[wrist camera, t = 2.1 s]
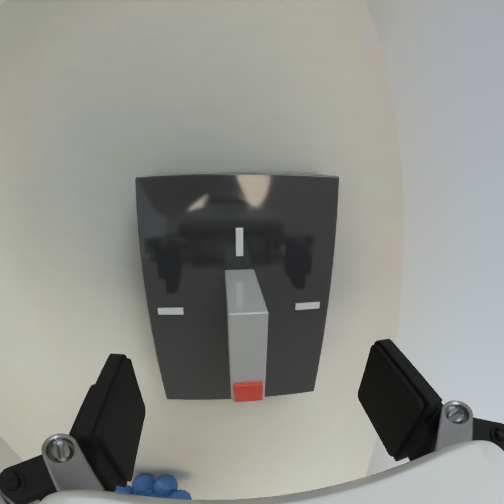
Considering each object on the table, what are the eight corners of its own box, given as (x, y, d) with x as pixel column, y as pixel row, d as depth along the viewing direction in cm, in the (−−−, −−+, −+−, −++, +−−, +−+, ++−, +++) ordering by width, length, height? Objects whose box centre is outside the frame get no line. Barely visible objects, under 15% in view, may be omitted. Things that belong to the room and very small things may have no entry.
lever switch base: (149, 174, 15) (133, 177, 12) (319, 173, 16) (340, 176, 13) (171, 371, 20) (166, 401, 17) (303, 365, 21) (314, 393, 18)
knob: (224, 269, 14) (227, 317, 10) (254, 268, 15) (270, 315, 10) (227, 344, 16) (231, 405, 11) (253, 343, 16) (265, 402, 11)
